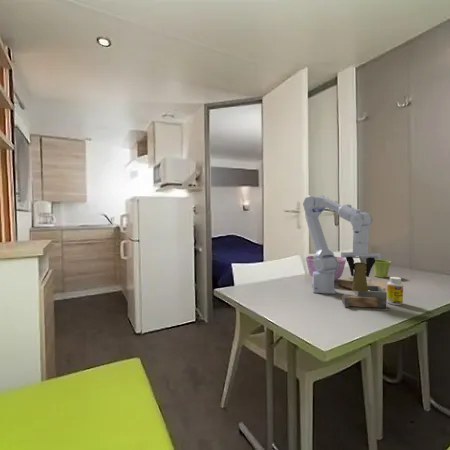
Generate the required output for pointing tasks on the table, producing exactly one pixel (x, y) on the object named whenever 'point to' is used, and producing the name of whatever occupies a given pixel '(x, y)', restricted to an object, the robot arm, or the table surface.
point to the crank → (364, 301)
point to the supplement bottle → (395, 291)
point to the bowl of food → (338, 271)
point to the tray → (372, 292)
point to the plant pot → (381, 268)
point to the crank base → (382, 309)
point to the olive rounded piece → (360, 277)
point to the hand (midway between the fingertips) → (359, 276)
